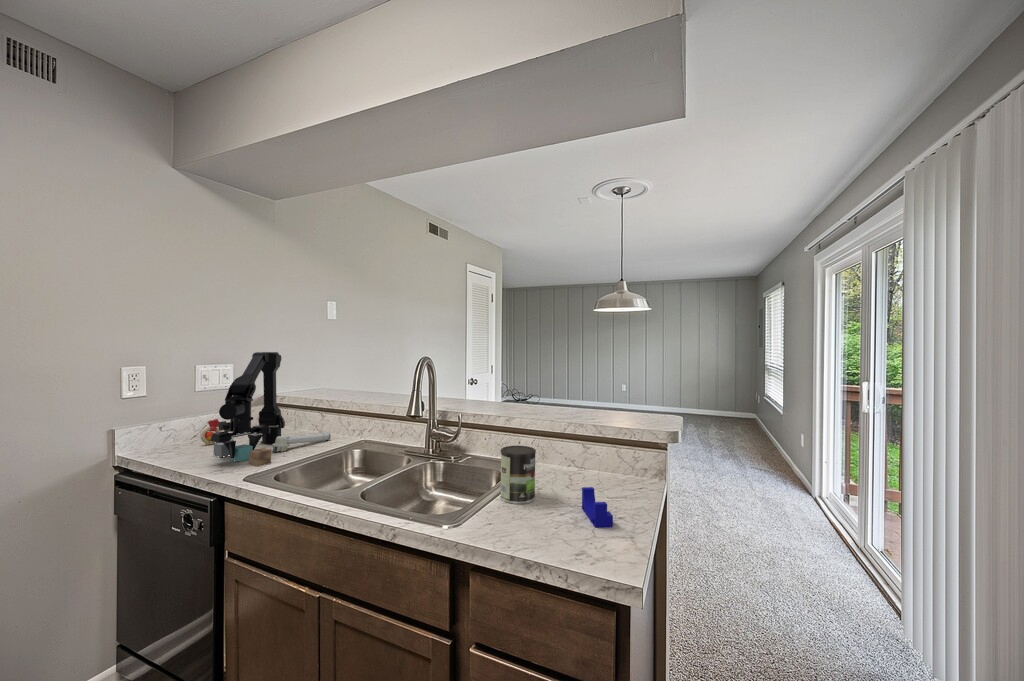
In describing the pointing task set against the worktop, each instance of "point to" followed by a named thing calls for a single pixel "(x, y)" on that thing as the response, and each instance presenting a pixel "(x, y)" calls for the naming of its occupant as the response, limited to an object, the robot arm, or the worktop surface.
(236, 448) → the teal block
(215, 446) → the charcoal block
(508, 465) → the coffee can
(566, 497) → the worktop surface
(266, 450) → the walnut block
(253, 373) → the robot arm
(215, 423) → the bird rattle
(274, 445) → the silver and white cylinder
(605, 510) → the blue stepped block
